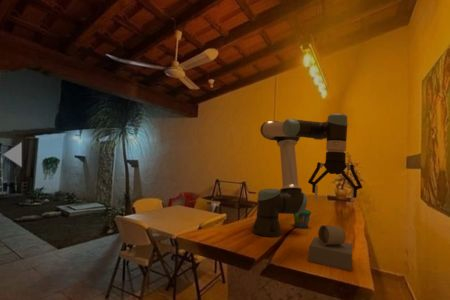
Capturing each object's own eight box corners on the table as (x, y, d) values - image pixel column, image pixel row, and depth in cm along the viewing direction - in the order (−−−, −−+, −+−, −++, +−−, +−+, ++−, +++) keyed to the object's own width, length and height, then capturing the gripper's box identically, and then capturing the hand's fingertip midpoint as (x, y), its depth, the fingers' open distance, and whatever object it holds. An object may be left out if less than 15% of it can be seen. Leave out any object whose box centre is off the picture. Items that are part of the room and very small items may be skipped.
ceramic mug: (346, 247, 100) (347, 227, 100) (328, 247, 98) (329, 227, 98) (329, 239, 110) (330, 221, 110) (313, 239, 108) (313, 221, 109)
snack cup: (299, 223, 163) (300, 207, 164) (315, 227, 156) (316, 210, 156) (286, 226, 152) (287, 209, 153) (302, 230, 145) (303, 212, 145)
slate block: (308, 261, 99) (309, 245, 99) (313, 250, 112) (314, 236, 112) (351, 271, 92) (351, 254, 92) (351, 258, 105) (352, 243, 105)
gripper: (303, 149, 106) (300, 200, 105) (371, 152, 95) (368, 209, 94) (306, 150, 113) (303, 198, 112) (370, 153, 101) (367, 206, 101)
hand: (333, 203), depth 103 cm, fingers open, 13 cm apart
